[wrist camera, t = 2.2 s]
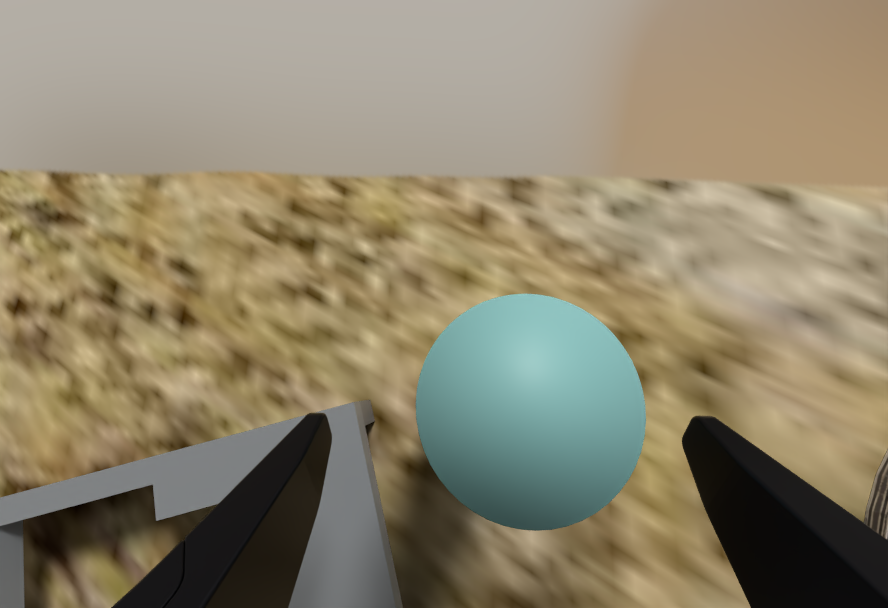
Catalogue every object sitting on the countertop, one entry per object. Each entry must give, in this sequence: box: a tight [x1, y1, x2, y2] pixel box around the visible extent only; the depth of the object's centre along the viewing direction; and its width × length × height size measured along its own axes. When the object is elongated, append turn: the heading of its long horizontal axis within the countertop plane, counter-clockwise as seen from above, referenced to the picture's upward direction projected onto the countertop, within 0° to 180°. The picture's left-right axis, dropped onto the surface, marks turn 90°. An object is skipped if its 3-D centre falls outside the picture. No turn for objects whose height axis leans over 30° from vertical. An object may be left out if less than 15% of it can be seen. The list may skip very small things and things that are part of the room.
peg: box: [416, 294, 646, 531], centre depth 12 cm, size 4×4×12 cm
